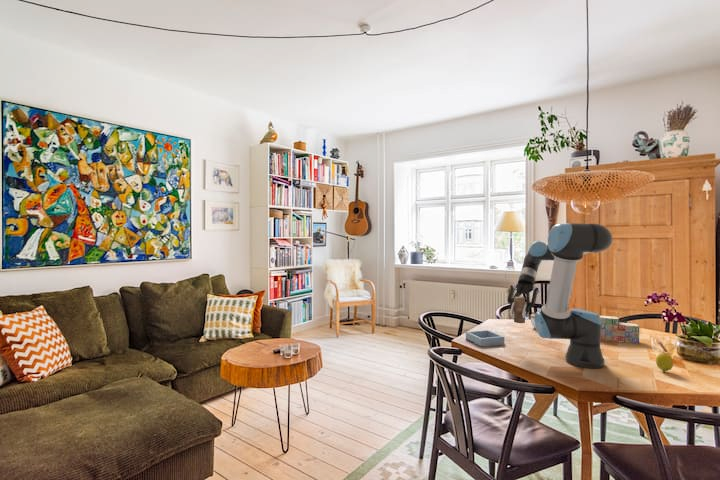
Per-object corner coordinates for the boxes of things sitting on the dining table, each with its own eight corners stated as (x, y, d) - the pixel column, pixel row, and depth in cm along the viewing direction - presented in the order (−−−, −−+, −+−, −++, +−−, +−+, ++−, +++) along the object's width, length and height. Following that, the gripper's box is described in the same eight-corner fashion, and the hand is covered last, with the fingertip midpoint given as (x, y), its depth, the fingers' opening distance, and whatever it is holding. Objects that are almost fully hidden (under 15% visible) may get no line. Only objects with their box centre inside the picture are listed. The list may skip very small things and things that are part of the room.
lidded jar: (526, 327, 233) (526, 312, 233) (538, 325, 238) (538, 310, 238) (542, 331, 223) (542, 315, 223) (553, 329, 228) (554, 313, 228)
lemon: (654, 371, 160) (655, 352, 160) (657, 368, 164) (657, 349, 164) (671, 375, 156) (672, 355, 156) (673, 371, 160) (674, 352, 160)
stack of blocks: (636, 341, 205) (636, 318, 205) (639, 344, 200) (639, 320, 199) (590, 336, 214) (590, 314, 214) (591, 339, 209) (592, 316, 208)
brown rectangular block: (527, 322, 185) (527, 298, 185) (518, 323, 184) (518, 298, 183) (520, 320, 190) (520, 296, 190) (511, 321, 188) (511, 296, 188)
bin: (504, 344, 198) (504, 336, 198) (480, 346, 194) (480, 338, 194) (487, 337, 211) (488, 329, 211) (465, 339, 207) (465, 331, 207)
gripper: (547, 284, 193) (538, 322, 180) (510, 281, 204) (500, 317, 191) (544, 274, 189) (535, 313, 176) (507, 272, 200) (496, 308, 187)
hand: (517, 315), depth 184 cm, fingers closed on brown rectangular block, 5 cm apart
